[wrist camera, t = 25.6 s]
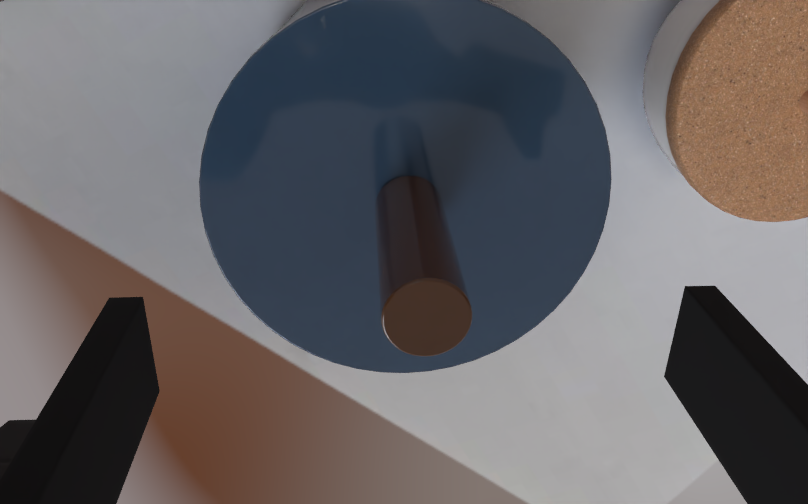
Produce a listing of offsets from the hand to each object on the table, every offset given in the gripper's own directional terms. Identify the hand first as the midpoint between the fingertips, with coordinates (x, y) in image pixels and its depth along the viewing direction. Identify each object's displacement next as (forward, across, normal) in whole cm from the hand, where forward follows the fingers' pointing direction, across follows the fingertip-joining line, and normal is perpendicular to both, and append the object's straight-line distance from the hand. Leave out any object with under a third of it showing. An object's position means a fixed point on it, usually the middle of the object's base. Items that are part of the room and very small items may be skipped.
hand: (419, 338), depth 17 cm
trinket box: (+20, +16, +3) cm, 26 cm away
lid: (+9, 0, 0) cm, 9 cm away
